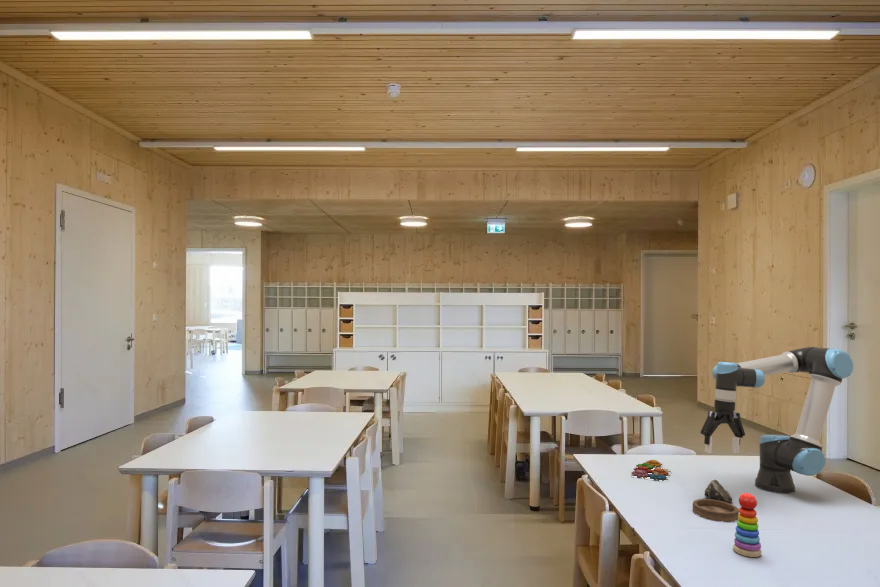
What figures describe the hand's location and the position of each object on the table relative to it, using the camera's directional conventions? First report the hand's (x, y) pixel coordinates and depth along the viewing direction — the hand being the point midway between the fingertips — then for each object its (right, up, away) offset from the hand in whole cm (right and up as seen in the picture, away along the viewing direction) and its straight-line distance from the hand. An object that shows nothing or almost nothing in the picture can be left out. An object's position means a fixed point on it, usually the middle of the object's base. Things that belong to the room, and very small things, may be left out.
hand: (721, 452), depth 226 cm
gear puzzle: (-13, -21, +40) cm, 47 cm away
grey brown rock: (-1, -20, -1) cm, 20 cm away
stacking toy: (-17, -18, -49) cm, 55 cm away
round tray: (-10, -19, -15) cm, 26 cm away
